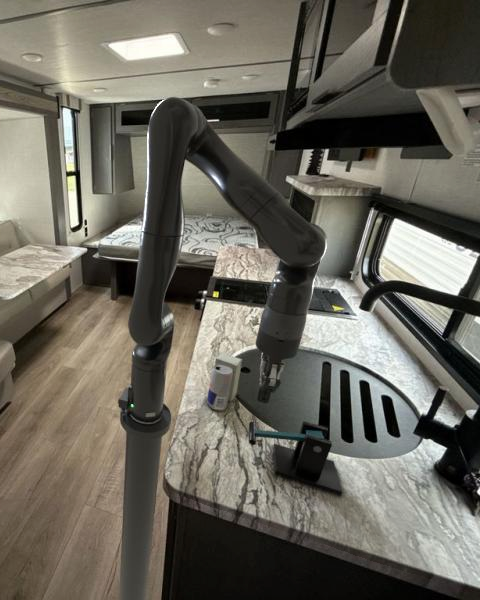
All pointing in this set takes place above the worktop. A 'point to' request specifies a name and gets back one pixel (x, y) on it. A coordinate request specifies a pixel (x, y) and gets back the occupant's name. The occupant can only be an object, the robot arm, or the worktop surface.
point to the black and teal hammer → (278, 434)
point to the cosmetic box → (236, 367)
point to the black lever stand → (308, 461)
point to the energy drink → (219, 386)
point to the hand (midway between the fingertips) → (262, 400)
